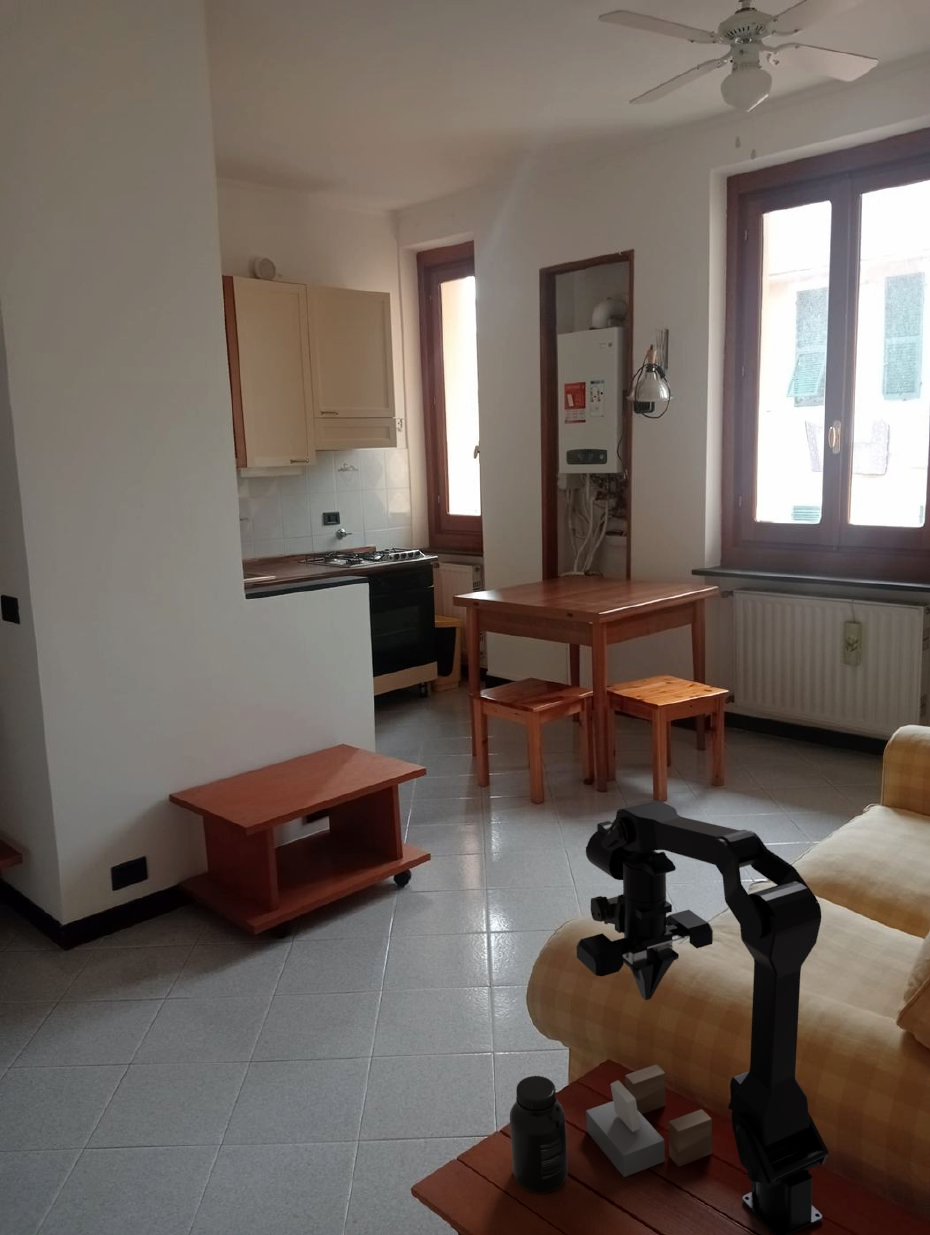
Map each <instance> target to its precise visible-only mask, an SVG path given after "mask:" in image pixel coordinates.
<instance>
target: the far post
mask: <svg viewBox="0 0 930 1235" xmlns="http://www.w3.org/2000/svg"><path fill="white" fill-rule="evenodd" d="M624 1077H625V1084H624V1085H625V1088H626V1089H627V1090H628V1091H629V1092H630V1093H631V1094H632V1095H633V1096H634V1098H635V1099H636V1104H637V1110H638V1111H639V1112H640V1113H641V1115H643V1114H646V1113H649V1112H652V1111H654V1110H658V1109H660V1108H663V1107H665V1106H666V1072H665V1071H664V1070H663V1069H662V1068H661V1067H660V1066H659V1065H658V1064H653V1065H651V1066H647V1067H645V1068H643V1069H639V1070H636V1071H634V1072H631V1073H628V1074H625V1076H624Z"/></svg>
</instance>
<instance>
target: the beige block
mask: <svg viewBox="0 0 930 1235" xmlns="http://www.w3.org/2000/svg"><path fill="white" fill-rule="evenodd" d="M712 1123H713V1122H712V1118H711V1117H710V1115H708V1114H707V1113H706V1111H704V1110H703V1109H702V1108H701V1109H698V1110H696V1111H693V1112H690V1113H688V1114H685V1115H682V1116H680V1117H676V1118H675V1119H672V1120H669V1121H668V1148H669V1150H668V1156H669V1158H670V1159H671V1160H672V1161H673V1162H674V1163H675V1164H676V1166H677V1167H683V1166H685V1165H688V1164H690V1163H692V1162H695V1161H697V1160H700V1159H703V1158H704V1157H705V1158H706V1157H707V1156H710V1155H712V1152H713V1149H712V1146H713V1145H712V1143H713V1141H712V1140H713V1139H712V1138H713V1136H712V1133H713V1131H712V1130H713V1129H712V1127H713V1126H712V1125H713V1124H712Z"/></svg>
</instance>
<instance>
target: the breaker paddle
mask: <svg viewBox="0 0 930 1235" xmlns="http://www.w3.org/2000/svg"><path fill="white" fill-rule="evenodd" d="M610 1088H611V1095H612V1101H613V1102H614V1108H615V1113H616V1114H617V1115H618V1116H619V1117H620V1119H621V1120H622V1121H623V1122H624V1123H625V1124H626V1125H627V1127H628V1128H629V1129H630V1130H631V1131H632V1132H634V1131H636V1130H638V1129H640V1123H639V1116H638V1110H637V1104H636V1099H635V1098H634V1096H633V1095H632V1094H631V1093H630V1092H629V1091H628V1090H627V1089H626V1086H624V1085H623V1083H622V1082H621V1081H620V1080H619V1079H618V1080H615V1081H613V1082H611V1083H610Z"/></svg>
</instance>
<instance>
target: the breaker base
mask: <svg viewBox="0 0 930 1235" xmlns="http://www.w3.org/2000/svg"><path fill="white" fill-rule="evenodd" d="M585 1114H586V1115H585V1117H586V1118H585V1119H586V1122H585V1123H586V1132H587V1133H588V1134H589V1136H590V1137H591V1138H592V1139H593V1141H594V1142H595V1143H596V1144H597V1145H598V1147H599V1148H600V1149H601V1151H602V1152H603V1153H604V1154H605V1156H606V1157H607V1158H608V1159H609V1161H610V1162H611V1163H612V1164H613V1165H614V1167H615V1168H616V1169H617V1171H618V1172H619V1173H620V1174H621V1175H622V1177H623V1178H626V1177H629V1176H631V1175H633V1174H636V1173H638V1172H641V1171H644V1170H646V1169H648V1168H652V1167H654V1166H656V1165H659V1164H662V1163H664V1162H665V1161H666V1153H665V1152H666V1149H665V1148H666V1142H665V1141H666V1140H665V1139H664V1138H663V1136H662V1135H661V1134H660V1133H659V1132H658V1131H657V1130H656V1129H655V1128H654V1127H653V1125H652V1124H651V1123H650V1122H649V1120H648V1119H646V1118H645V1117H644V1115H643V1114H641V1113H640V1112H639V1111H638V1116H639V1123H640V1129H638V1130H636V1131H634V1132H632V1131H631V1130H630V1129H629V1128H628V1127H627V1125H626V1124H625V1123H624V1122H623V1121H622V1120H621V1119H620V1117H619V1116H618V1115H617V1114H616V1113H615V1108H614V1102H613V1100H612V1101H609V1102H607V1103H604V1104H601V1105H598V1106H595V1107H592V1108H589V1109H587V1110H585Z"/></svg>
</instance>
